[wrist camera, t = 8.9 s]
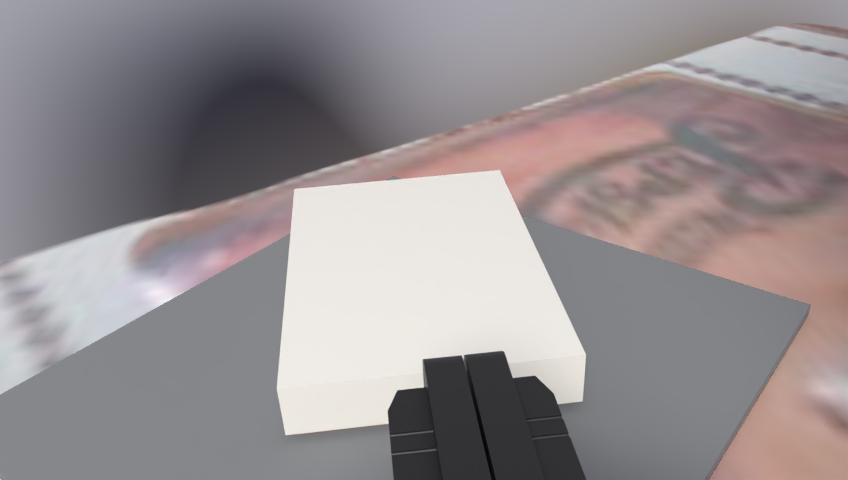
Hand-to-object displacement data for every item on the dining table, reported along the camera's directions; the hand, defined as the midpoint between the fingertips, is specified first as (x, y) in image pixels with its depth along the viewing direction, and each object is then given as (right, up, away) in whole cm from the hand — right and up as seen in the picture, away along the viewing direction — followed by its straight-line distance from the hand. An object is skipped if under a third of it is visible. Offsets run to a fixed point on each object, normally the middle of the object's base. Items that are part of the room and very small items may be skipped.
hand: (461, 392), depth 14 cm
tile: (0, -2, +11) cm, 11 cm away
